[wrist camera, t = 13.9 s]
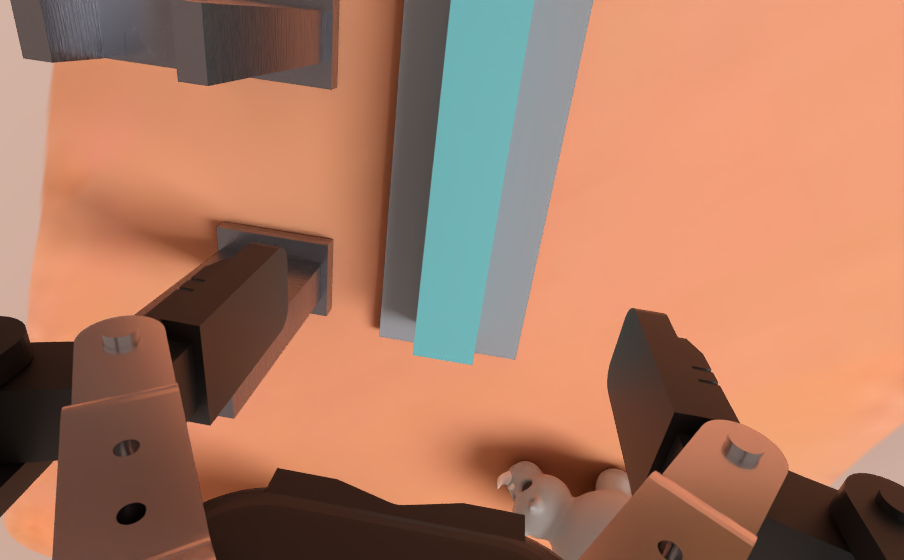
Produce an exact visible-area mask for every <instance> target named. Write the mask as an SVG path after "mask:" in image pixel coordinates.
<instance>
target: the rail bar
mask: <svg viewBox="0 0 904 560" xmlns="http://www.w3.org/2000/svg"><path fill="white" fill-rule="evenodd" d="M533 5H534V0H451V4H450V13H449V22H448V32H447V41H446V50H445V59H444V69H443V78H442V87H441V97H440V106H439V115H438V125H437V134H436V143H435V152H434V162H433V171H432V180H431V190H430V199H429V208H428V217H427V227H426V236H425V245H424V255H423V264H422V273H421V282H420V292H419V301H418V310H417V320H416V329H415V338H414V348H413V355H416V356H422V357H428V358H434V359H440V360H445V361H451V362H457V363H463V364H469V365H472V363H473V357H474V351H475V345H476V340H477V334H478V328H479V322H480V316H481V310H482V304H483V298H484V293H485V287H486V281H487V275H488V269H489V263H490V257H491V252H492V246H493V240H494V234H495V228H496V222H497V216H498V211H499V205H500V199H501V193H502V187H503V181H504V175H505V170H506V164H507V158H508V152H509V146H510V140H511V134H512V129H513V123H514V117H515V111H516V105H517V99H518V93H519V88H520V82H521V76H522V70H523V64H524V58H525V52H526V46H527V41H528V35H529V29H530V23H531V17H532V11H533Z"/></svg>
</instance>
